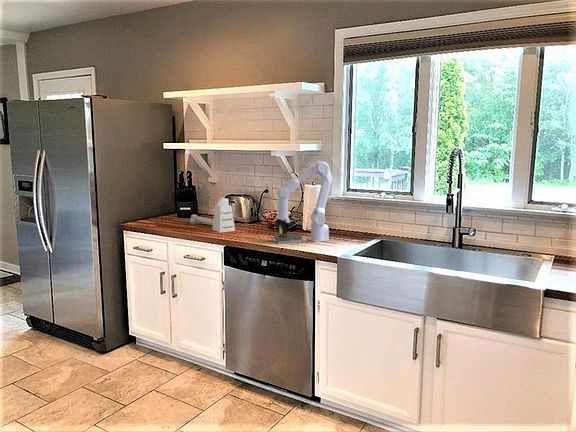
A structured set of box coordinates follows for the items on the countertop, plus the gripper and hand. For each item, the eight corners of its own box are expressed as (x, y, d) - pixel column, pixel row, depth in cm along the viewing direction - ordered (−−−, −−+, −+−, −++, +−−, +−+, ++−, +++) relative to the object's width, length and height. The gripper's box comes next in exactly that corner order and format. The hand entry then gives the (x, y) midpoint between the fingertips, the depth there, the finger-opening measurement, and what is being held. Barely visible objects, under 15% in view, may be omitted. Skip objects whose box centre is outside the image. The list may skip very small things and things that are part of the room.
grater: (227, 228, 306) (226, 197, 302) (235, 230, 297) (234, 198, 294) (212, 229, 300) (211, 198, 297) (219, 232, 291) (219, 199, 288)
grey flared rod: (216, 221, 307) (188, 213, 321) (215, 231, 309) (187, 222, 322) (221, 220, 312) (193, 212, 325) (220, 230, 313) (193, 221, 326)
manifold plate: (300, 238, 275) (300, 233, 274) (307, 241, 267) (307, 235, 266) (271, 240, 267) (271, 235, 267) (277, 243, 259) (277, 238, 259)
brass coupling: (285, 237, 268) (285, 225, 267) (288, 238, 263) (288, 225, 262) (277, 237, 266) (277, 225, 265) (280, 239, 262) (280, 226, 261)
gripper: (271, 208, 267) (271, 232, 269) (281, 211, 254) (281, 236, 256) (282, 207, 270) (282, 231, 272) (293, 210, 257) (293, 235, 259)
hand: (282, 233), depth 265 cm, fingers closed on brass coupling, 4 cm apart
